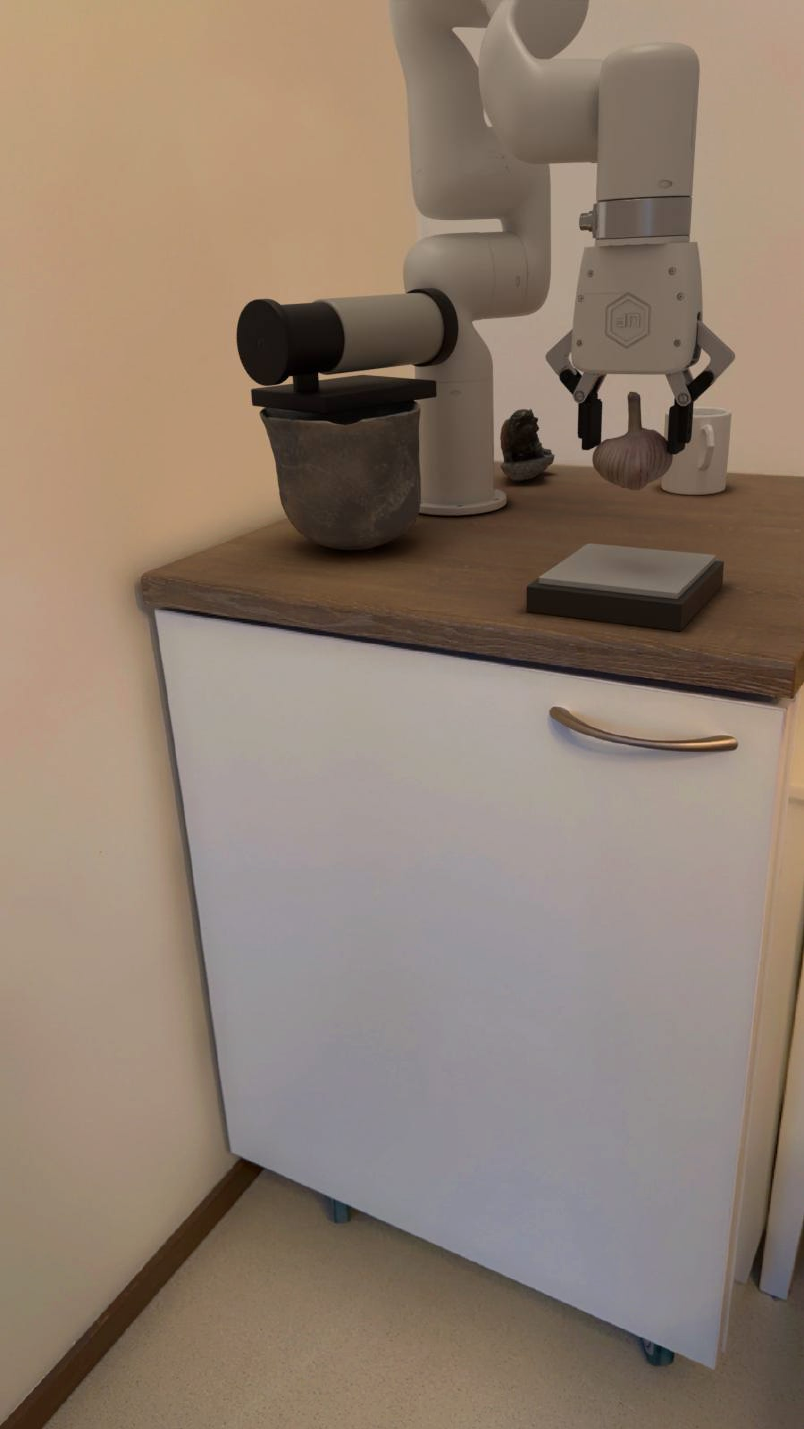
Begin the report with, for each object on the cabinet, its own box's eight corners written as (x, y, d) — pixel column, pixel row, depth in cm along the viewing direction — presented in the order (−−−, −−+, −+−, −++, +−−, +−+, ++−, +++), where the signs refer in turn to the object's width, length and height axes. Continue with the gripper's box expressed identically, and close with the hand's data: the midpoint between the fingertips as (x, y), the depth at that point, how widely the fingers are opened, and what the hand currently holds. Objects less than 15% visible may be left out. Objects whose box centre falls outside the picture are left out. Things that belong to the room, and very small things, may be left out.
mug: (675, 503, 132) (680, 421, 128) (656, 483, 143) (660, 407, 139) (740, 500, 132) (747, 419, 128) (716, 481, 143) (722, 405, 139)
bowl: (239, 560, 116) (224, 418, 110) (311, 521, 131) (301, 394, 125) (391, 570, 110) (384, 420, 104) (448, 529, 124) (445, 395, 118)
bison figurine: (507, 470, 156) (507, 399, 152) (556, 470, 154) (557, 398, 150) (496, 488, 145) (496, 411, 141) (548, 488, 143) (549, 410, 139)
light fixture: (221, 298, 109) (393, 288, 125) (230, 409, 113) (396, 385, 129) (297, 298, 101) (471, 288, 117) (304, 418, 105) (471, 392, 121)
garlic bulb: (642, 497, 90) (647, 399, 86) (570, 487, 94) (572, 394, 91) (688, 482, 95) (694, 388, 91) (617, 473, 99) (621, 383, 96)
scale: (526, 611, 96) (526, 579, 95) (581, 570, 107) (582, 541, 106) (680, 631, 90) (682, 597, 89) (722, 585, 101) (724, 554, 100)
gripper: (524, 231, 87) (523, 452, 94) (741, 219, 79) (722, 463, 86) (558, 230, 93) (555, 438, 100) (763, 219, 85) (744, 447, 92)
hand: (633, 448), depth 93 cm, fingers closed on garlic bulb, 7 cm apart
